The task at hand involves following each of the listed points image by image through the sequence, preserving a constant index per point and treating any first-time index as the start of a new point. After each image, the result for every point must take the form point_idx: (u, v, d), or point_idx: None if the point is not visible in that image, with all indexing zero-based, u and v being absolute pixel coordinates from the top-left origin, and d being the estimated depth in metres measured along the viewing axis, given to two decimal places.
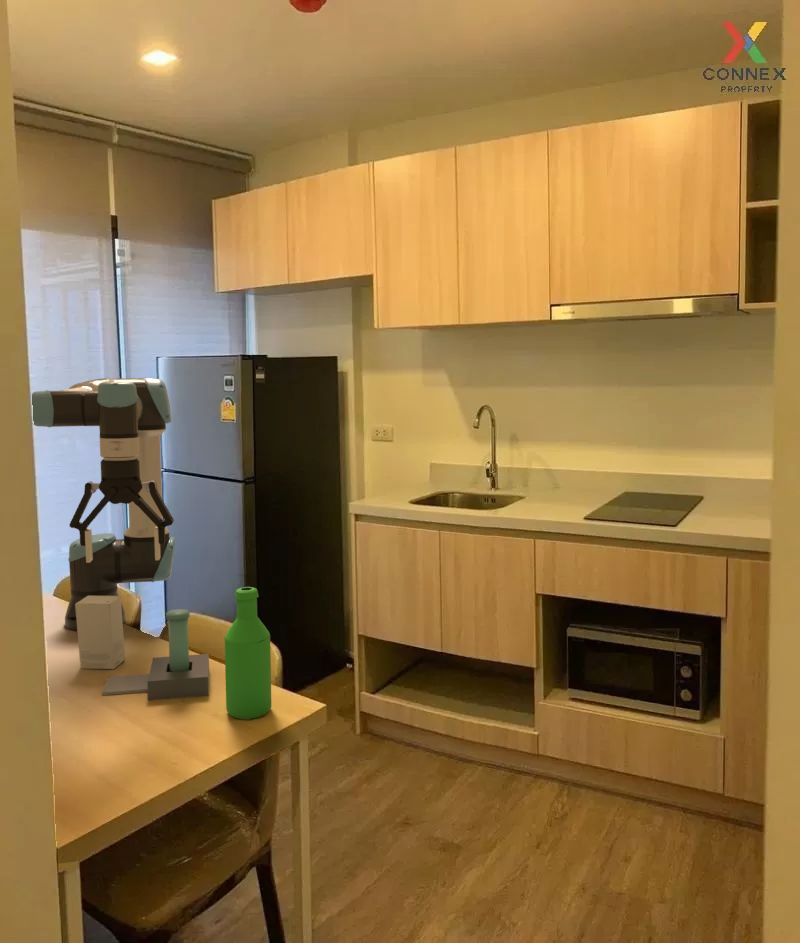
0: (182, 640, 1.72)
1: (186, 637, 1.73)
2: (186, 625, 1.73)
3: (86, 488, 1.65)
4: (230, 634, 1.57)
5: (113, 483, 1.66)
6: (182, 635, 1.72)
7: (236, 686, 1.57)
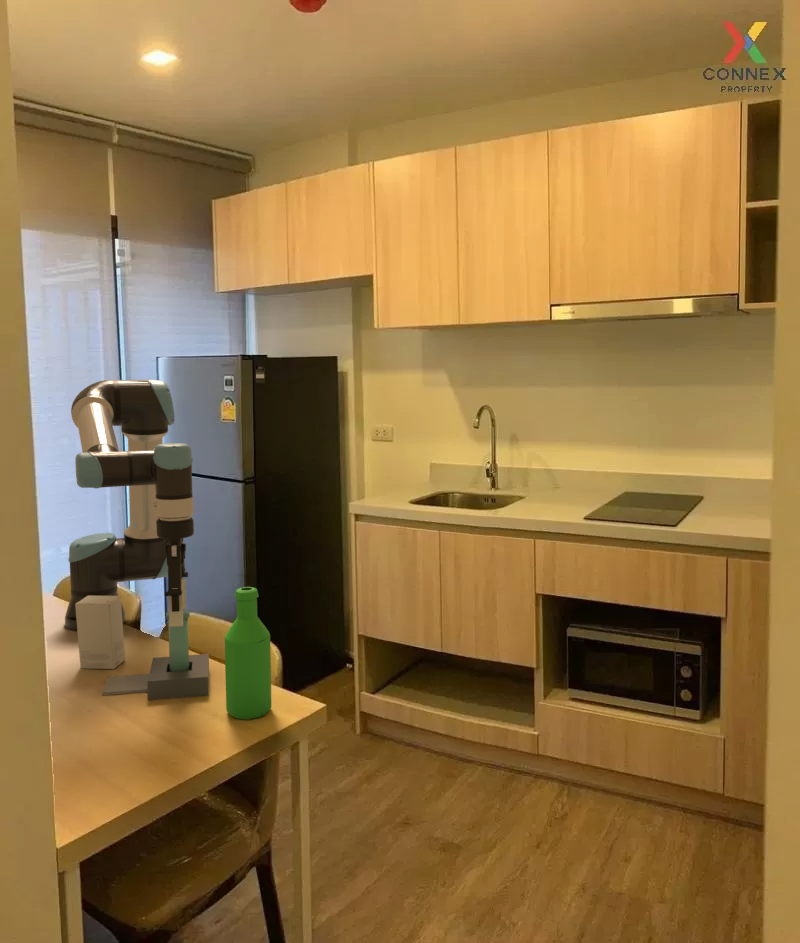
0: (182, 640, 1.72)
1: (186, 637, 1.73)
2: (186, 625, 1.73)
3: None
4: (230, 634, 1.57)
5: None
6: (182, 635, 1.72)
7: (236, 686, 1.57)
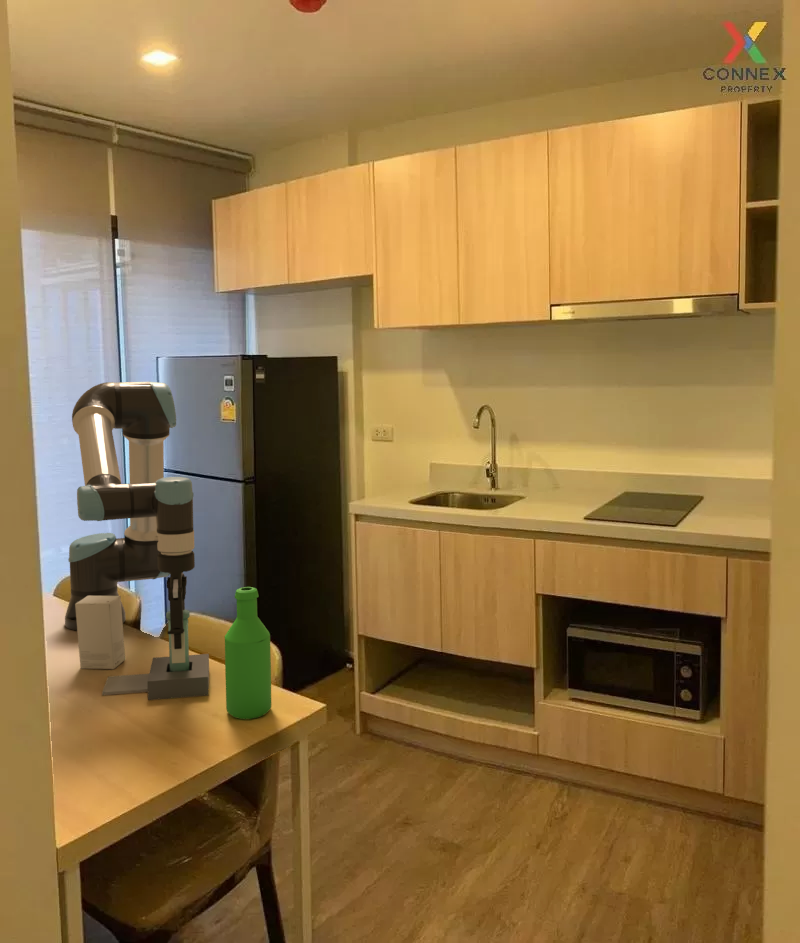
0: None
1: (186, 637, 1.73)
2: (186, 625, 1.73)
3: None
4: (230, 634, 1.57)
5: None
6: None
7: (236, 686, 1.57)
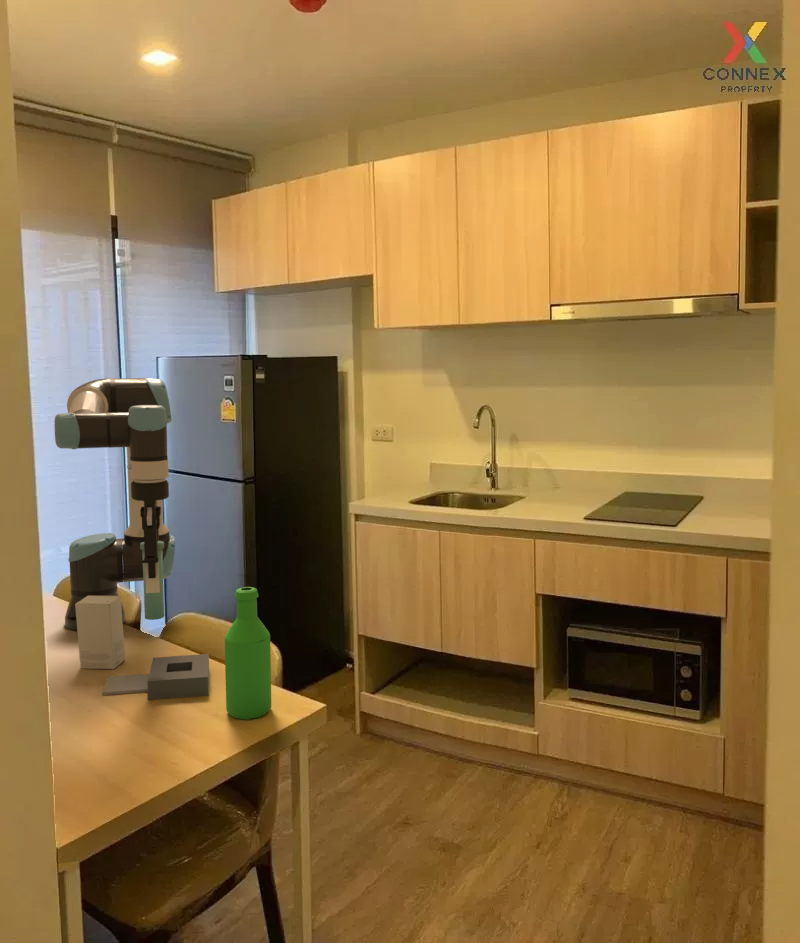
0: None
1: (161, 568, 1.71)
2: (161, 556, 1.71)
3: None
4: (230, 634, 1.57)
5: None
6: None
7: (236, 686, 1.57)
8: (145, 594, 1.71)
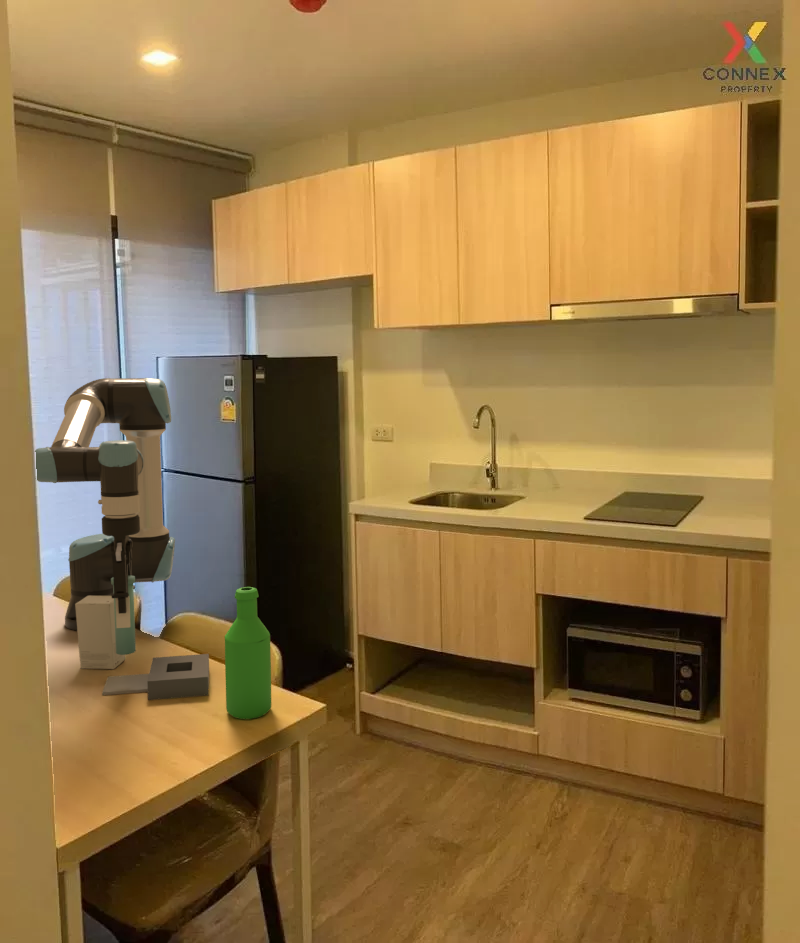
0: None
1: (131, 603, 1.72)
2: (131, 590, 1.71)
3: None
4: (230, 634, 1.57)
5: None
6: None
7: (236, 686, 1.57)
8: (116, 629, 1.72)
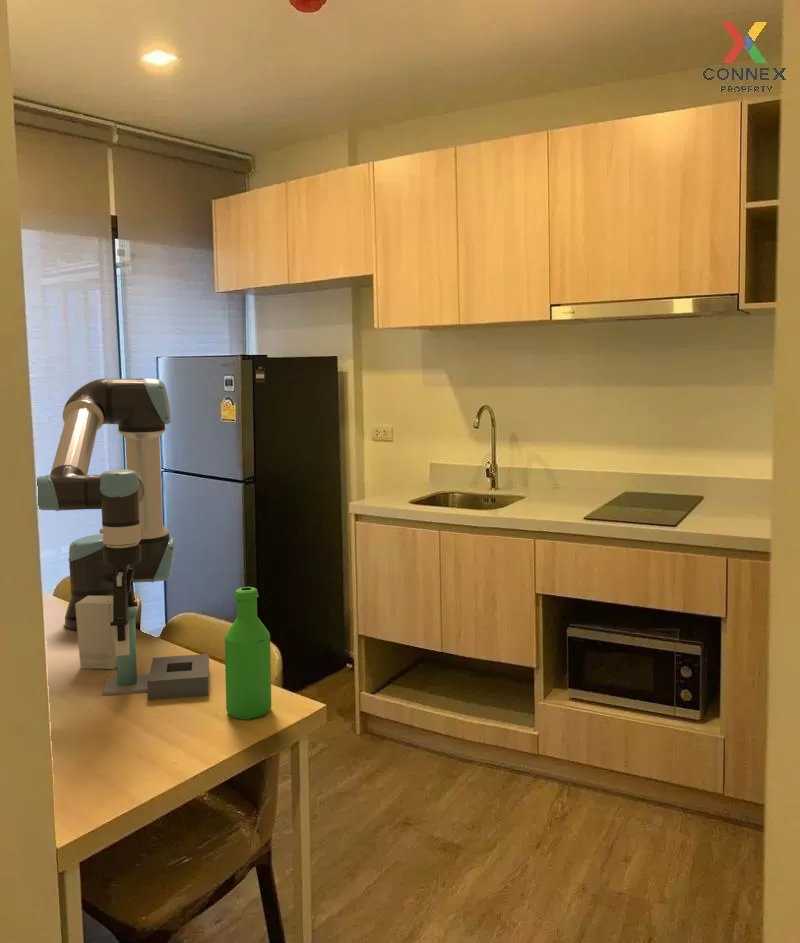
0: None
1: (133, 635, 1.73)
2: (133, 623, 1.73)
3: None
4: (230, 634, 1.57)
5: None
6: (129, 632, 1.72)
7: (236, 686, 1.57)
8: (117, 660, 1.73)
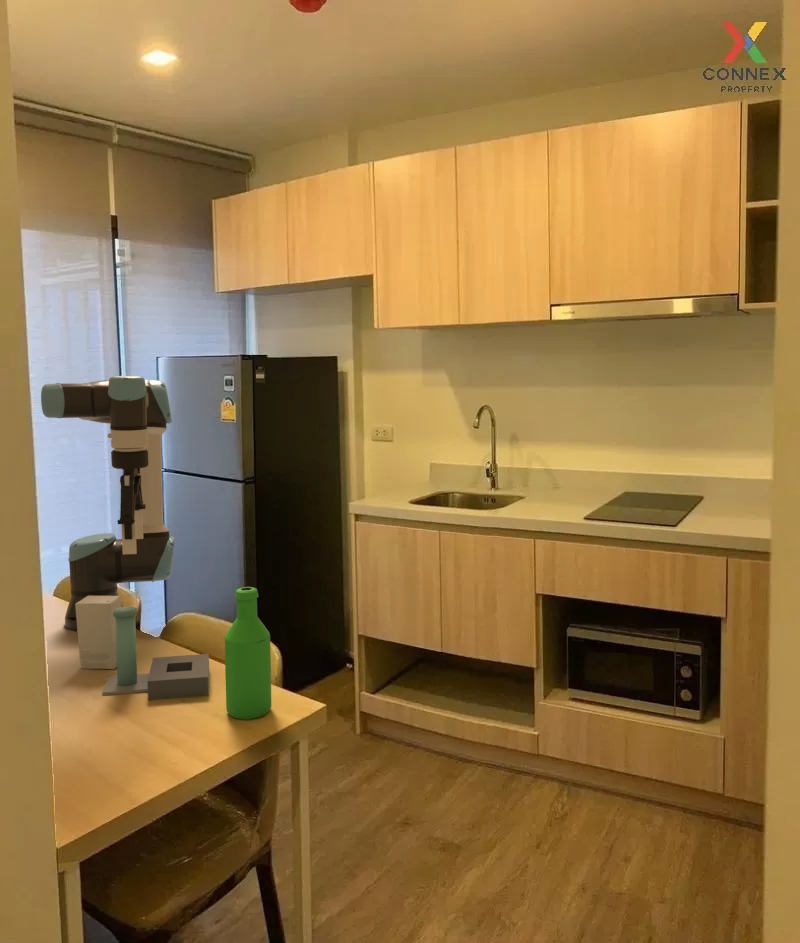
0: (128, 637, 1.72)
1: (133, 634, 1.73)
2: (133, 622, 1.73)
3: None
4: (230, 634, 1.57)
5: None
6: (129, 632, 1.72)
7: (236, 686, 1.57)
8: (117, 660, 1.73)
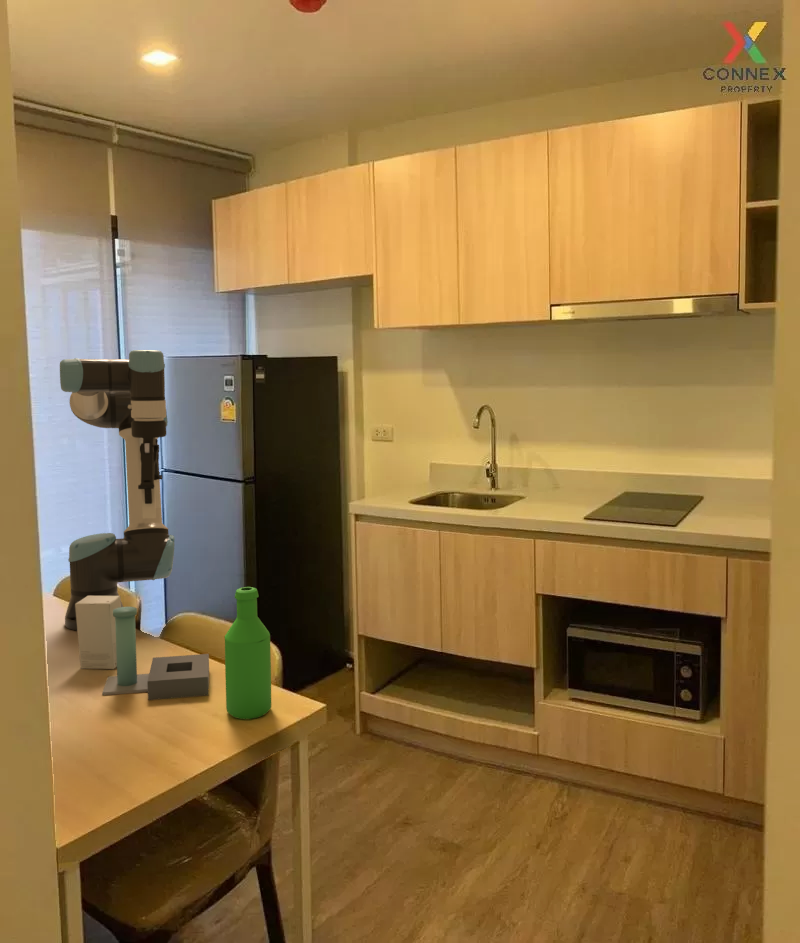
0: (128, 637, 1.72)
1: (133, 634, 1.73)
2: (133, 622, 1.73)
3: None
4: (230, 634, 1.57)
5: None
6: (129, 632, 1.72)
7: (236, 686, 1.57)
8: (117, 660, 1.73)
